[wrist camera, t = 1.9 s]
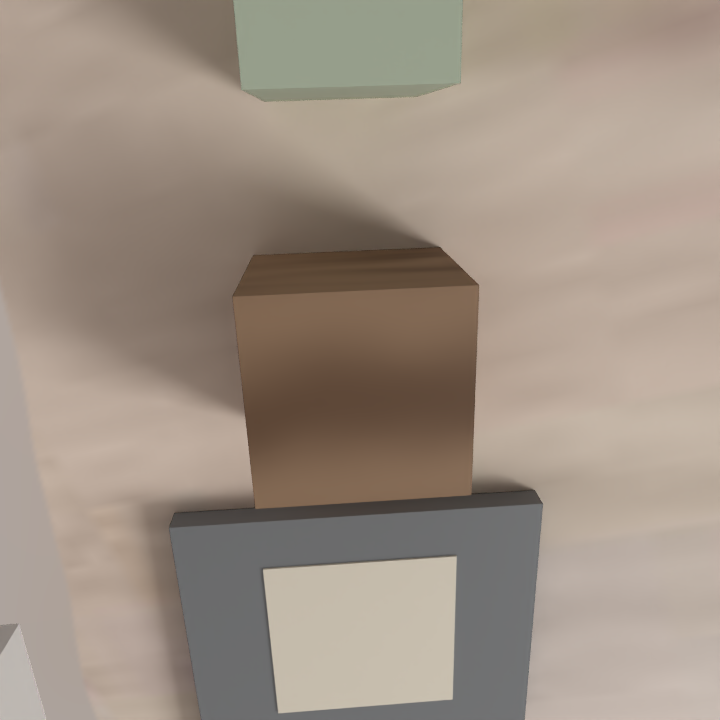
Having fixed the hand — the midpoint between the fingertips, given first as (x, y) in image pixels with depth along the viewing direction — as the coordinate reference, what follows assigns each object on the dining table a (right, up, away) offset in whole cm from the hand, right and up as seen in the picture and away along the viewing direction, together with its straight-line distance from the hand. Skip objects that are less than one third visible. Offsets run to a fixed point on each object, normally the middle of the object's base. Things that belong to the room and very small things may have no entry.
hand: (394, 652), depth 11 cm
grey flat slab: (-1, -9, +22) cm, 24 cm away
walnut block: (-1, +6, +17) cm, 18 cm away
